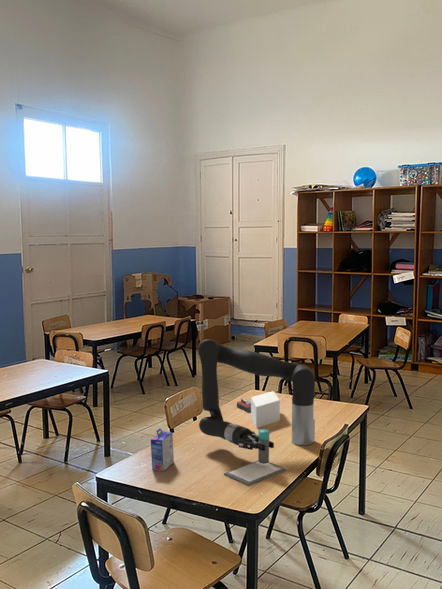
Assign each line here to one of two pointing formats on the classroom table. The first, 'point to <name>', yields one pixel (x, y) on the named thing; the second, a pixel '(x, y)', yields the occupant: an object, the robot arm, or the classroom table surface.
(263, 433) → the marker
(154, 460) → the ink cartridge box
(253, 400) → the white box
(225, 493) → the classroom table surface
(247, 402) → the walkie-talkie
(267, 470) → the mat
